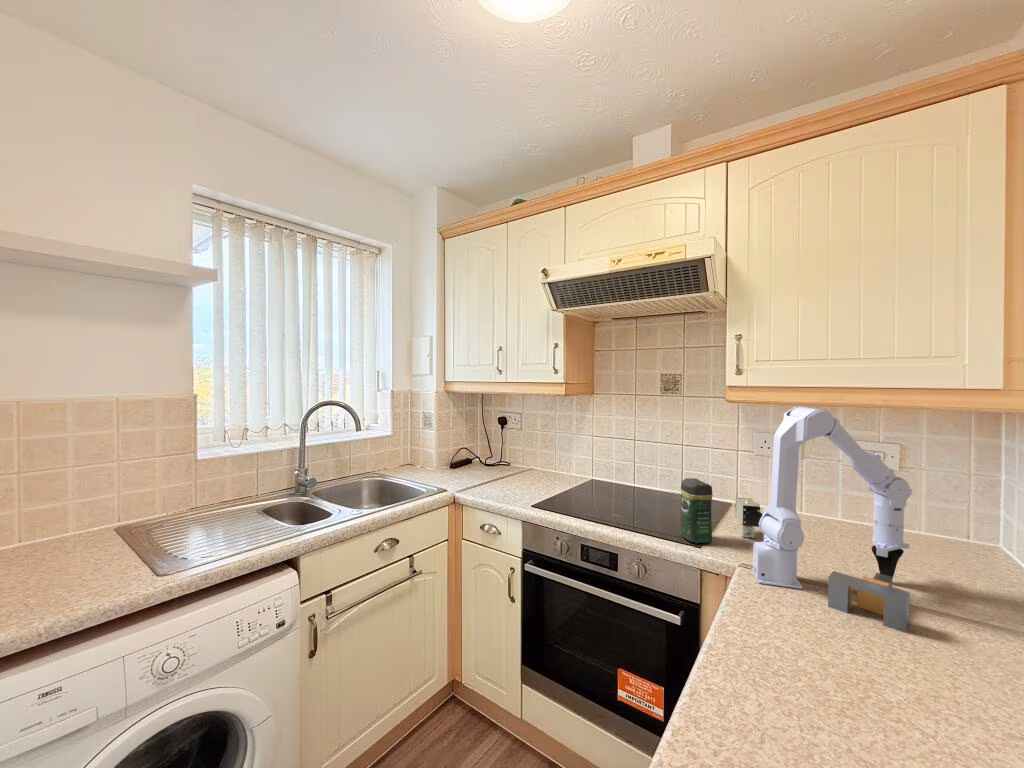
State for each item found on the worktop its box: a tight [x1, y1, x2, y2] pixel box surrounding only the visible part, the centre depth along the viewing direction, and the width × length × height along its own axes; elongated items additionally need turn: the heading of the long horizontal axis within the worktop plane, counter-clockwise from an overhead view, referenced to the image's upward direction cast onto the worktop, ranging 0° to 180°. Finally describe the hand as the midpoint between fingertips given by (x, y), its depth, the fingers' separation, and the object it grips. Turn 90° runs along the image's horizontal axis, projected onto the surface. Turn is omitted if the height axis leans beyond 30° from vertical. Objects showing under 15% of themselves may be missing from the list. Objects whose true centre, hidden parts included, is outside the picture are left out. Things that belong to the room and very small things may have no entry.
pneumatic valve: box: [734, 497, 763, 539], centre depth 139 cm, size 6×12×12 cm, turn 167°
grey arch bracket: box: [827, 570, 911, 633], centre depth 94 cm, size 4×13×7 cm, turn 41°
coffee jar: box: [679, 477, 713, 544], centre depth 137 cm, size 10×8×19 cm
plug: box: [856, 572, 894, 615], centre depth 102 cm, size 16×4×5 cm, turn 131°
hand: (886, 577), depth 109 cm, fingers closed
